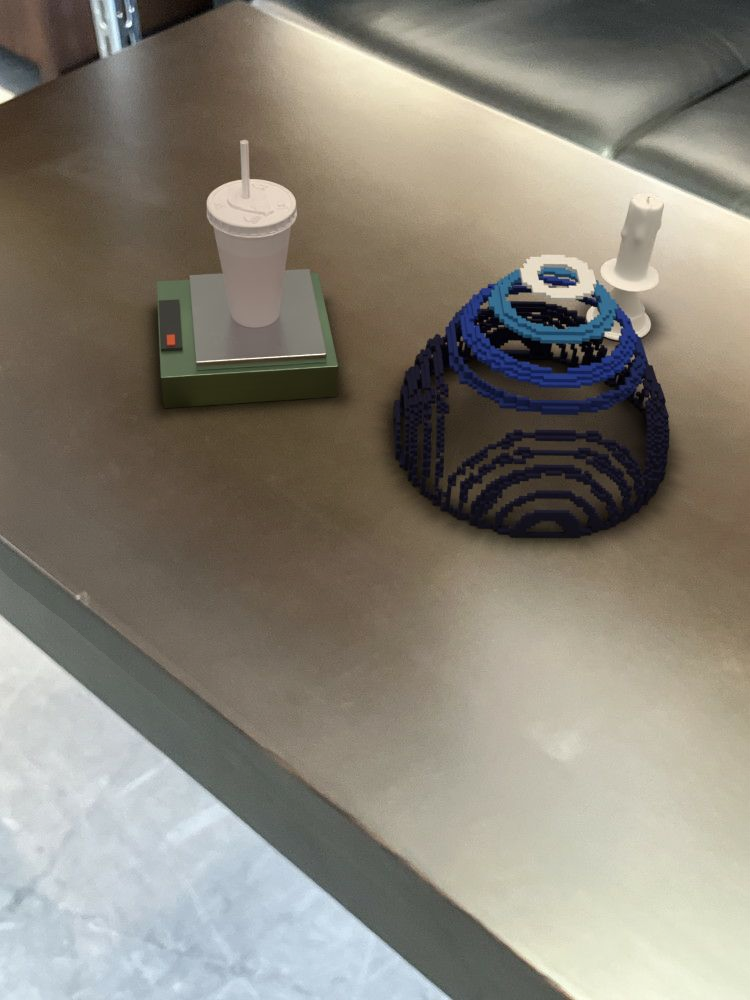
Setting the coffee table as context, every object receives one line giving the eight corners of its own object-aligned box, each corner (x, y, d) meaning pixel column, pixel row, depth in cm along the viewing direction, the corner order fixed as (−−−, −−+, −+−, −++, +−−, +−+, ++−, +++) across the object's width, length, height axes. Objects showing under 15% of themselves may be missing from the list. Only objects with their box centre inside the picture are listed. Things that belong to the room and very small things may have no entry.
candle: (649, 346, 93) (684, 217, 85) (583, 336, 94) (612, 207, 85) (651, 308, 97) (685, 181, 88) (588, 298, 98) (616, 171, 89)
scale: (164, 408, 85) (160, 372, 83) (159, 311, 94) (156, 276, 91) (337, 396, 87) (338, 361, 85) (318, 302, 95) (318, 267, 93)
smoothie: (259, 278, 91) (255, 113, 81) (314, 315, 88) (316, 148, 78) (195, 310, 88) (182, 141, 78) (250, 350, 85) (243, 180, 75)
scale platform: (196, 370, 84) (195, 362, 83) (189, 282, 91) (189, 274, 91) (326, 362, 85) (326, 354, 85) (309, 276, 93) (309, 268, 92)
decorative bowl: (636, 354, 93) (678, 196, 82) (691, 538, 79) (750, 375, 68) (388, 350, 91) (399, 189, 81) (400, 536, 78) (415, 370, 67)
